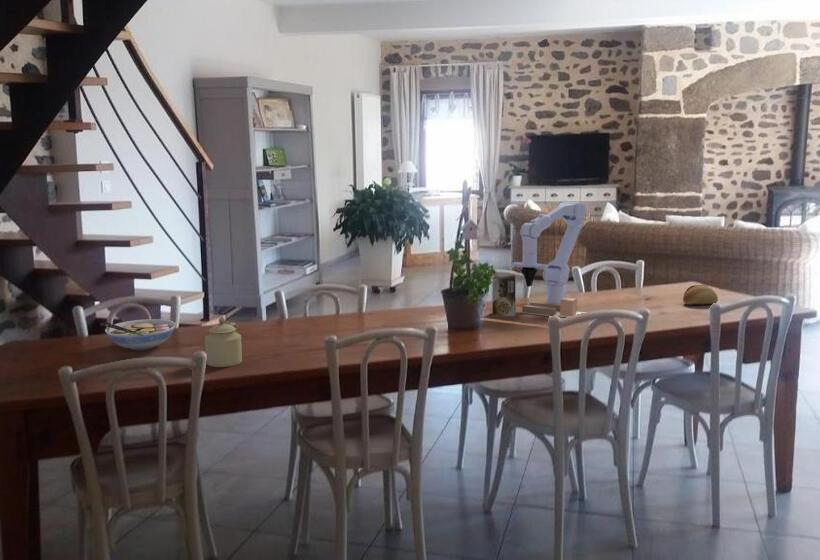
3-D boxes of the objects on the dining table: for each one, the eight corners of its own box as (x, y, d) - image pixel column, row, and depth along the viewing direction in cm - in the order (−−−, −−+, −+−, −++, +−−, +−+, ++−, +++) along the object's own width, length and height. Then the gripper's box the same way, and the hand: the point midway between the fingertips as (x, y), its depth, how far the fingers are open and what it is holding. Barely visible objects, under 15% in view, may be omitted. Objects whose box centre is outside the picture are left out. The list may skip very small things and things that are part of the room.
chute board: (532, 309, 308) (533, 300, 307) (590, 315, 295) (590, 306, 295) (521, 315, 297) (521, 306, 297) (580, 321, 285) (580, 312, 285)
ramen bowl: (192, 347, 256) (190, 323, 255) (129, 361, 240) (127, 336, 238) (154, 335, 273) (152, 313, 271) (92, 348, 256) (90, 325, 255)
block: (564, 312, 297) (564, 297, 296) (576, 313, 294) (576, 298, 293) (560, 314, 293) (560, 299, 292) (572, 316, 290) (572, 300, 289)
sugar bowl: (204, 356, 245) (201, 311, 242) (239, 353, 248) (236, 308, 246) (207, 369, 231) (204, 321, 228) (244, 365, 234) (241, 318, 232)
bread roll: (676, 303, 317) (677, 284, 315) (708, 301, 320) (709, 282, 318) (690, 307, 307) (691, 288, 306) (722, 305, 311) (723, 286, 309)
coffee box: (515, 315, 298) (515, 275, 295) (515, 318, 291) (516, 277, 288) (491, 314, 299) (492, 274, 296) (491, 318, 292) (492, 277, 289)
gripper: (509, 253, 303) (508, 286, 305) (543, 255, 295) (542, 289, 298) (516, 250, 308) (515, 283, 311) (549, 253, 301) (548, 286, 304)
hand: (529, 286), depth 305 cm, fingers closed
